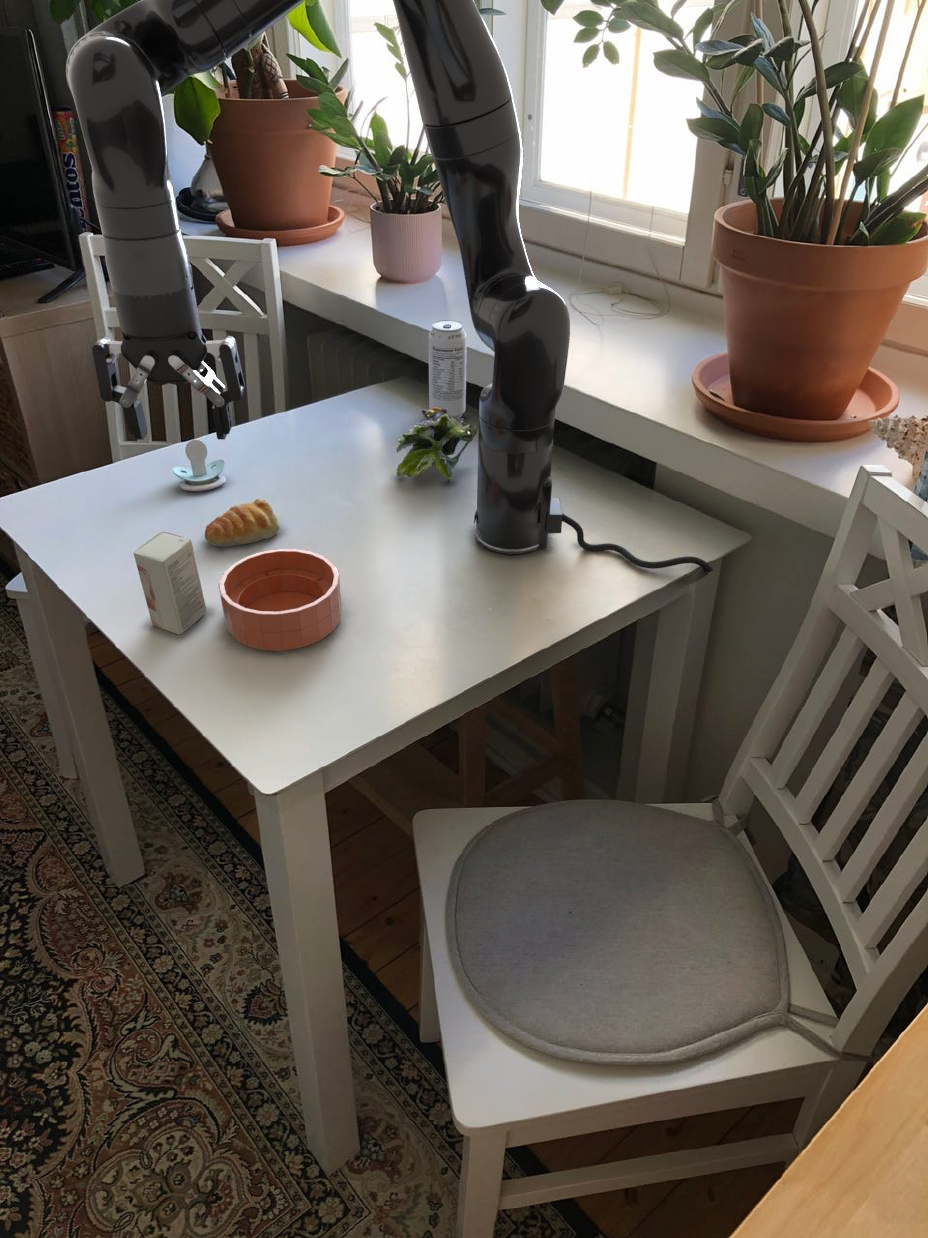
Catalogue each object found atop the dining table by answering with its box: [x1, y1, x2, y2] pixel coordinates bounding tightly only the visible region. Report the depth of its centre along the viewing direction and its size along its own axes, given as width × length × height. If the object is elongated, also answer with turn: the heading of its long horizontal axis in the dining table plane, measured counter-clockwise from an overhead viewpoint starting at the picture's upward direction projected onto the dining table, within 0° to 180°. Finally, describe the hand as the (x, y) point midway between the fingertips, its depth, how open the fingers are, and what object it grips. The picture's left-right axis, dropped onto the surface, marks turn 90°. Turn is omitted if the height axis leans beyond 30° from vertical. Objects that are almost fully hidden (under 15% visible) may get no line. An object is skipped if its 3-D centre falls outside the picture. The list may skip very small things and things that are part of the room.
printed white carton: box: [133, 531, 207, 635], centre depth 104 cm, size 5×4×10 cm
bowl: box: [218, 548, 343, 651], centre depth 106 cm, size 13×13×6 cm
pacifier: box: [172, 438, 227, 492], centre depth 132 cm, size 7×6×6 cm
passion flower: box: [395, 407, 478, 485], centre depth 135 cm, size 11×11×12 cm
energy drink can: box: [428, 319, 468, 419], centre depth 150 cm, size 6×6×15 cm
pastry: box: [204, 498, 281, 548], centre depth 121 cm, size 9×7×4 cm
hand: (182, 436), depth 98 cm, fingers open, 8 cm apart
